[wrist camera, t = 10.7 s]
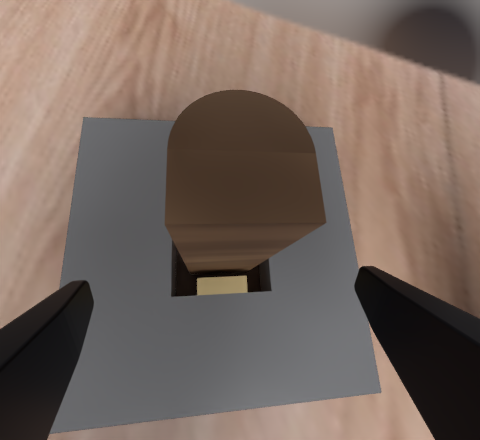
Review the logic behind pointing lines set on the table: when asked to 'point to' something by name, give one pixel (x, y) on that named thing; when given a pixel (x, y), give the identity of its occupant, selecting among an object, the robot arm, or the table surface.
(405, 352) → the robot arm
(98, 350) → the hub plate
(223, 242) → the walnut peg
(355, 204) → the table surface
